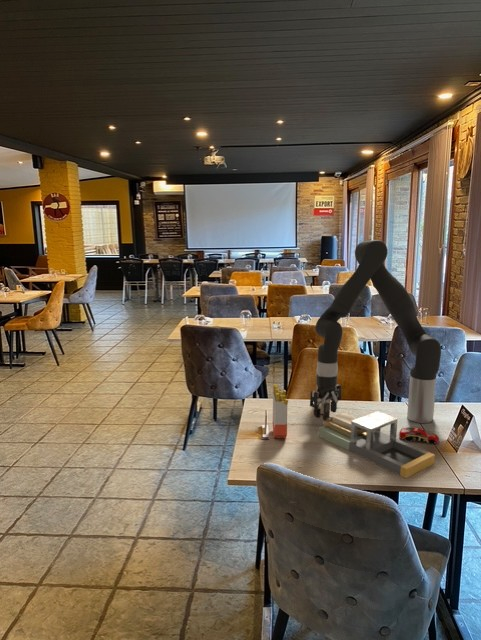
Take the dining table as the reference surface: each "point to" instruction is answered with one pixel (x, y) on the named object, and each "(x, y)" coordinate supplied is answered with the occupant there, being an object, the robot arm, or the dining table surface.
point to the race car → (418, 435)
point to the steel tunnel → (373, 427)
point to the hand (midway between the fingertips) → (325, 414)
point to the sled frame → (328, 423)
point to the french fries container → (279, 413)
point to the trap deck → (384, 451)
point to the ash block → (344, 420)
